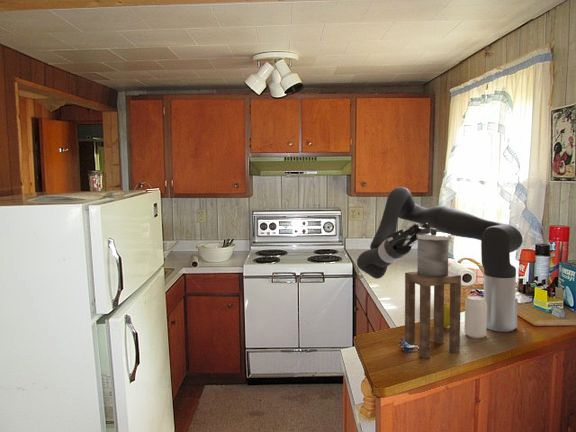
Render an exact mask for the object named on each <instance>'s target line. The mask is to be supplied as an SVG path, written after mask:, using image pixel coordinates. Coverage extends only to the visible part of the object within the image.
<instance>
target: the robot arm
mask: <svg viewBox="0 0 576 432" xmlns="http://www.w3.org/2000/svg"><path fill="white" fill-rule="evenodd" d="M399 219H402V220H406V221H410V222H414V224H413V225H411V226H412V227H411V226H409V227H410V228H408V227H407V228H406V229H398V230H397V227H398V220H399ZM419 224H421V226H420V227H426V228H430V229H432V228H434V229H437V232H440V233H447V234H451V236H455V237H459V238H460V237H461V238H467V239H473V240H478V241H480V247H481V248H480V250H481V252H480V253H481V254H480V255H481V257H480V258H481V265H482V268H483V272H484V273H483V297H484V298H485V301H486V303H487V329H486V330H490V331H493V332H494V331H495V332H501V333H503V332H504V333H506V332H513V331H515V329H517V328H518V305H519V304H518V303H519V302H518V298H516V289H517V287H516V285H517V284H516V281H517V280H516V279H517V268H516V267H515V266H514V265H513V264H511V259H510V258H511V257H510V256H511V255H510V253H512V252H515V251H518V249H520V248H521V246H522V244H523V242H524V241H523V235H522V233H521V231H520V230H519V229H518V228H516V227H515V226H514V225H512V224H507V223H503V222H502V223H501V222H497V221H493V220H488V219H485V218H481V217H479V216H476V215H474V214H471V213H468V212H465V211H463V210H459V209H456V208H454V207H451V206H446V205H442V204H441V205H436V206H435V205H434V206H432V207H424V206H421V205H418V204H417V203H415V200H414V197H413V194H412V193H411V191H410V189H408V188H407V187H405V186H397V187H395V188H394V189H392V190H390V192H389V194H388V195H387V199H386V203H385V206H384V210H383V213H382V217H381V220H380V223H379V225H378V228H377V230H376V232H375V234H374V237H373V239H372V241H371V242H370V246H369V247H370V249H368V250H365V251H363V252H362V253H360V254H359V255H358V257H357V260H356V265H357V267H358V269H360V270H361V271H362V272H364V273H365V274H367V275H369V276H370V277H372V279H373V278H374V279H375V280H376V279H381V278H383V277H384V276H385V274H386V271H387V269H388V266H390V265H392V264H393V263H394V262H397V261H399V260H400V259H401V258H403V257H404V256H405V255H408V254H409V253H410V251H411V250H412V246H413V245H415V244H416V243H418V239H417V238H416V235H415V233H417V232H418V231H419Z"/></svg>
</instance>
